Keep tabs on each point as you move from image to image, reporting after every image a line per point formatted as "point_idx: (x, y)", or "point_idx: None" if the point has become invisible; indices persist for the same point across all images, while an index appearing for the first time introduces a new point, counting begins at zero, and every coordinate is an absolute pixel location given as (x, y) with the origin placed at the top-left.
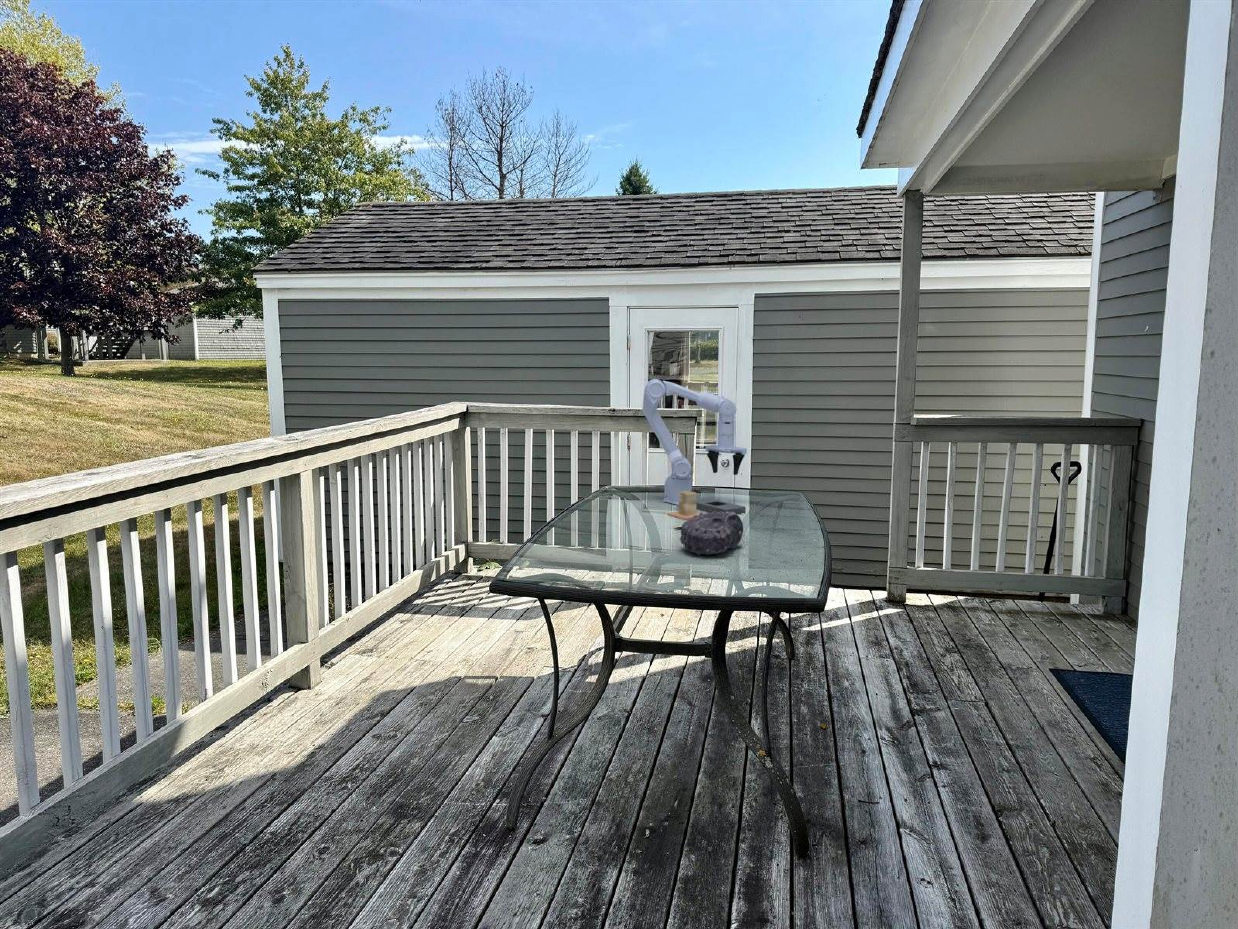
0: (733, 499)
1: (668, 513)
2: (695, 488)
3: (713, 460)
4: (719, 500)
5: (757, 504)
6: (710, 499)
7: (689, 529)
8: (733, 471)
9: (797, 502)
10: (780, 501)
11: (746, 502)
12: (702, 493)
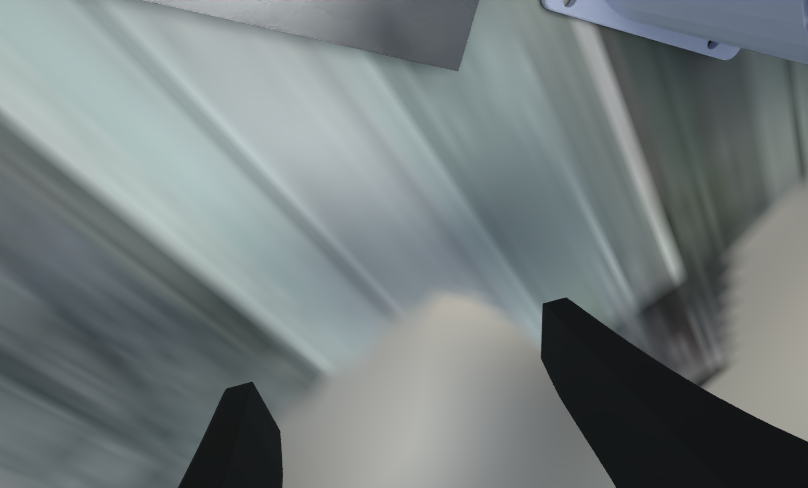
0: (390, 310)
1: None
2: (694, 355)
3: (699, 458)
4: (290, 30)
5: (164, 312)
6: (394, 5)
7: None
8: (241, 421)
9: (70, 485)
10: (152, 445)
11: (266, 305)
12: (624, 301)
